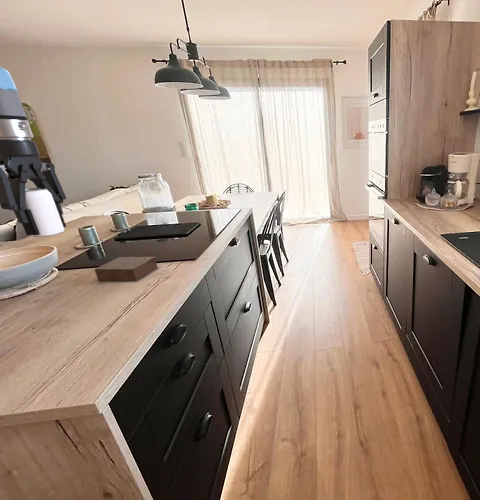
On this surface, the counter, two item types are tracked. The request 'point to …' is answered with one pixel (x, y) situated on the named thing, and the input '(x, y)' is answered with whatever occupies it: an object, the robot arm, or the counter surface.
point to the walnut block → (126, 269)
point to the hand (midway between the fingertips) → (47, 230)
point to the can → (43, 212)
